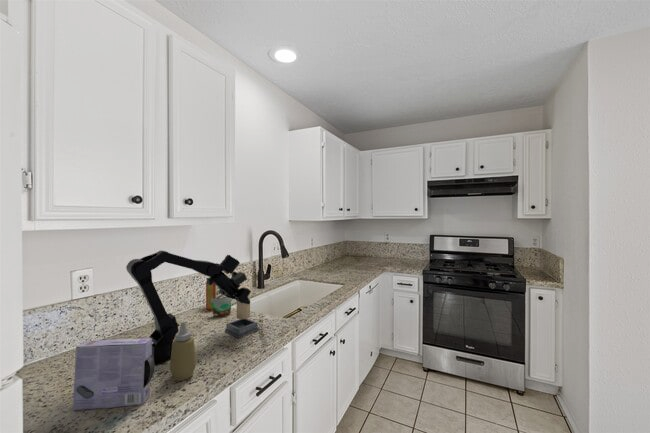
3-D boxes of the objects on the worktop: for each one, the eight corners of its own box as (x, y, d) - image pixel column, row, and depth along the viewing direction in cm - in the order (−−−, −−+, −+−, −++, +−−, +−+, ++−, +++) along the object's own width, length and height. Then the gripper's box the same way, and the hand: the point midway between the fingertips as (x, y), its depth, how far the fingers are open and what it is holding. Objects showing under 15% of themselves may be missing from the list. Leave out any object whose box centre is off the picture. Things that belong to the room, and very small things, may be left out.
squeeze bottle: (178, 386, 88) (178, 329, 88) (164, 378, 92) (164, 324, 92) (201, 373, 95) (201, 321, 95) (187, 366, 99) (187, 316, 99)
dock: (239, 338, 122) (239, 330, 122) (224, 331, 129) (224, 323, 129) (259, 329, 131) (259, 322, 130) (244, 324, 137) (244, 317, 137)
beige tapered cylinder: (245, 319, 125) (245, 290, 125) (233, 318, 127) (234, 289, 126) (252, 315, 131) (252, 287, 130) (241, 313, 132) (241, 286, 132)
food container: (217, 320, 142) (217, 300, 142) (210, 317, 146) (210, 298, 146) (237, 313, 152) (237, 294, 152) (231, 310, 156) (231, 292, 156)
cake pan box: (155, 393, 84) (155, 335, 84) (147, 405, 79) (147, 343, 79) (84, 400, 81) (84, 339, 81) (71, 412, 76) (71, 348, 76)
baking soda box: (214, 311, 155) (214, 282, 155) (206, 309, 158) (206, 281, 158) (227, 306, 163) (227, 278, 163) (219, 304, 166) (219, 277, 166)
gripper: (246, 270, 119) (268, 291, 127) (225, 264, 132) (246, 283, 140) (229, 292, 113) (253, 312, 122) (209, 284, 126) (231, 303, 134)
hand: (246, 301), depth 130 cm, fingers closed on beige tapered cylinder, 6 cm apart
